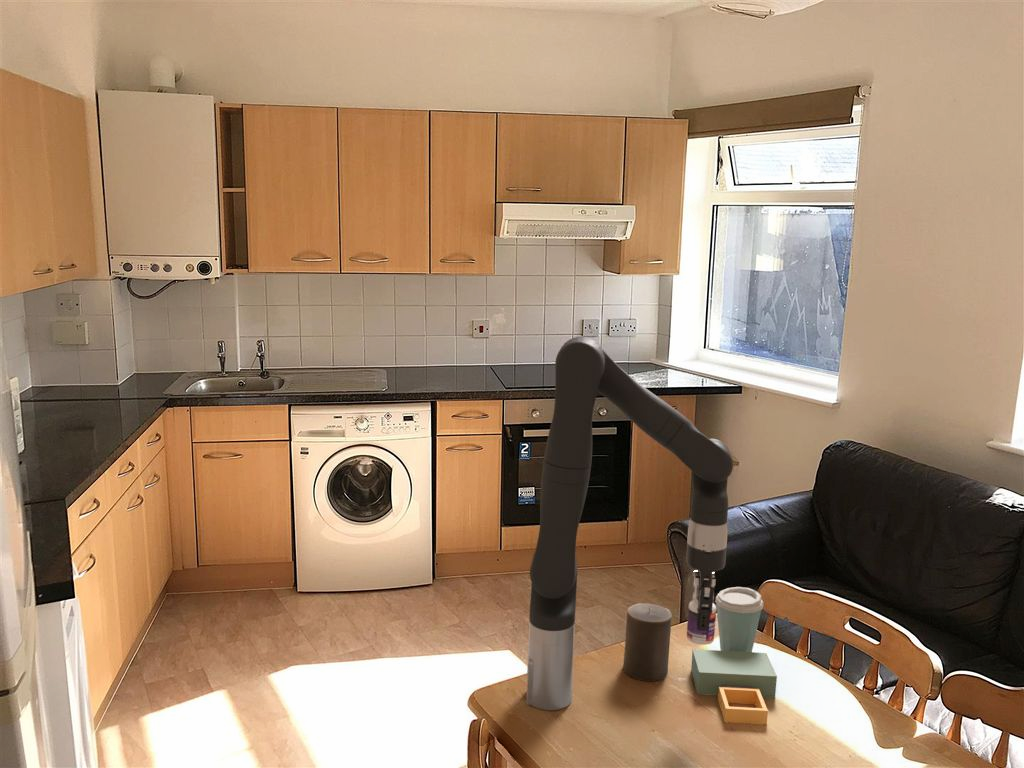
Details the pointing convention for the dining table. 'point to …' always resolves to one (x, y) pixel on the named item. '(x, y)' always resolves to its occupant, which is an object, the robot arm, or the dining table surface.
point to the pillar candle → (647, 642)
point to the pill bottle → (692, 631)
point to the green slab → (735, 682)
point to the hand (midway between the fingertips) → (701, 622)
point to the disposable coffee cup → (738, 618)
